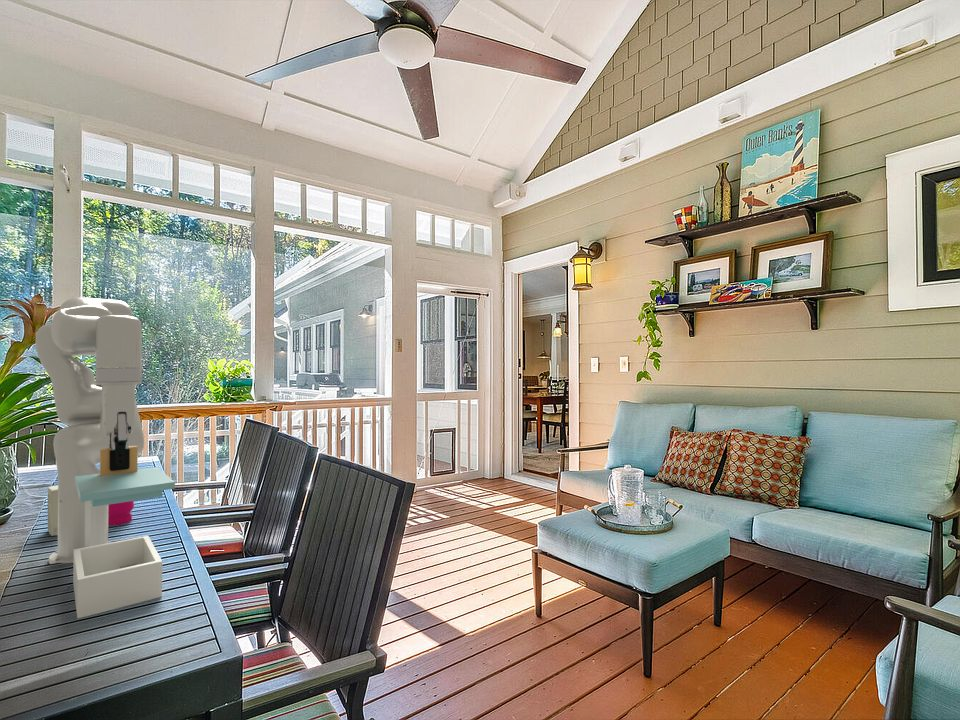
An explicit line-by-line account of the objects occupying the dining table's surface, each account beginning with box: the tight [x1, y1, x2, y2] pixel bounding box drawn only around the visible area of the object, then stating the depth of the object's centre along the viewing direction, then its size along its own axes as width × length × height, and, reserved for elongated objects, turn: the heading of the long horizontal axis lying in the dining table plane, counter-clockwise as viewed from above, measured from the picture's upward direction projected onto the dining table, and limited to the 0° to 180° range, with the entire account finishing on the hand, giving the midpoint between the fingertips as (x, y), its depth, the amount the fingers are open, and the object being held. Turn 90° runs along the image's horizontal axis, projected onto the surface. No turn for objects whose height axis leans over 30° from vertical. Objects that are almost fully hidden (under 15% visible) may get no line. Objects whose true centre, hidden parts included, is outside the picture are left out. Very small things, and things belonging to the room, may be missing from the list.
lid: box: [75, 446, 176, 507], centre depth 94 cm, size 19×14×8 cm
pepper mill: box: [108, 501, 135, 527], centre depth 144 cm, size 7×7×20 cm
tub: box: [72, 535, 163, 620], centre depth 101 cm, size 18×13×8 cm
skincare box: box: [47, 485, 58, 537], centre depth 135 cm, size 6×4×12 cm
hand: (118, 468), depth 100 cm, fingers closed on lid, 1 cm apart
